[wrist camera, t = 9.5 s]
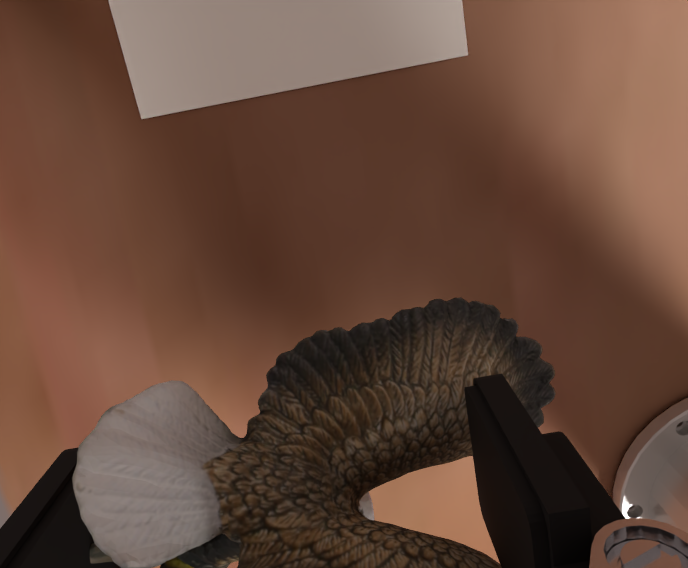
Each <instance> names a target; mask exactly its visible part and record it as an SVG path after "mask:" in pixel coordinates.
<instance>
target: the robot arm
mask: <svg viewBox="0 0 688 568" xmlns="http://www.w3.org/2000/svg"><path fill="white" fill-rule="evenodd" d="M464 392H465V400H466V408H467V415H468V422H469V430H470V437H471V444H472V452H473V459H474V466H475V474H476V481H477V488H478V496H479V502H480V507H481V511H482V515H483V519H484V521H485V524H486V527H487V530H488V532H489V535H490V538H491V540H492V543H493V546H494V548H495V551H496V554H497V556H498V559H499V562H500V564H501V567H502V568H688V398H686V399H684V400H682V401H680V402H678V403H677V404H675V405H673V406H671V407H670V408H668V409H667V410H666V411H664V412H663V413H662V414H660V415H659V416H658V417H656V418H655V419H654V420H652V421H651V422H650V423H649V425H648V426H647V427H646V428H645V429H644V430H643V431H642V432H641V433H640V434H639V435H638V436H637V437H636V439H635V440H634V442H633V443H632V444H631V446H630V447H629V449H628V450H627V452H626V453H625V455H624V457H623V460H622V462H621V464H620V466H619V469H618V471H617V475H616V479H615V483H614V488H613V500H612V499H611V497H610V496H609V495H608V493H607V492H606V490H605V489H604V488H603V486H602V485H601V484H600V482H599V481H598V479H597V478H596V477H595V475H594V474H593V473H592V471H591V470H590V468H589V467H588V466H587V464H586V463H585V462H584V460H583V459H582V457H581V456H580V455H579V453H578V452H577V451H576V449H575V448H574V446H573V445H572V444H571V442H570V441H569V440H568V438H567V437H566V436H565V435H564V434H563V433H562V432H553V433H547V434H541V432H540V431H539V429H538V427H537V426H536V424H535V423H534V421H533V420H532V418H531V417H530V415H529V414H528V412H527V411H526V409H525V408H524V406H523V405H522V403H521V402H520V400H519V398H518V397H517V395H516V394H515V392H514V391H513V389H512V388H511V386H510V385H509V383H508V382H507V380H506V379H505V377H504V376H503V374H495V375H489V376H484V377H478V378H474V379H473V386H469V387H465V388H464ZM77 451H78V448H73V449H68V450H64V451H63V452H62V453H61V454H60V455H59V457H58V458H57V459H56V460H55V461H54V463H53V464H52V465H51V466H50V468H49V469H48V470H47V471H46V473H45V474H44V475H43V476H42V478H41V479H40V480H39V481H38V483H37V484H36V485H35V486H34V488H33V489H32V490H31V491H30V493H29V494H28V495H27V496H26V497H25V499H24V500H23V501H22V502H21V504H20V505H19V506H18V507H17V509H16V510H15V511H14V512H13V514H12V515H11V516H10V517H9V519H8V520H7V521H6V522H5V524H4V525H3V526H2V527H1V529H0V568H121V567H120V566H118V565H117V564H116V563H114V562H103V563H94V564H92V563H91V562H90V545H91V544H92V543H94V540H93V538H92V535H91V533H90V532H89V530H88V528H87V527H86V525H85V524H84V522H83V520H82V519H81V515H80V510H79V506H78V503H77V500H76V497H75V493H74V489H73V481H72V477H73V474H74V471H75V468H76V465H77Z"/></svg>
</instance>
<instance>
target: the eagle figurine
mask: <svg viewBox="0 0 688 568" xmlns="http://www.w3.org/2000/svg"><path fill="white" fill-rule="evenodd" d="M517 330H518V324H517V322H516V321H515V320H514V319H501V318H500V311H499V310H498V309H497V308H496V307H495V306H493V305H486V304H484V303H481V302H477V301H472V302H470V303H468V302H467V301H466V300H464V299H463V298H453V299H451V300H449V301H447V302H446V301H444V300H442V299H434V300H431V301H430V302H429V304H428V305H427V306H426V307H425V308H421V307H415V308H412V309H406V310H401V311H399V312H397V313H396V314H395V315H394V316H393V317H392V319H391V320H386V319H384V318H381V319H377V320H375V321H374V322H371V323H361V324H358V325H357V326H355V327H354V328H352V330H350V331H346V330H344V329H343V328H341V327H338V328H334V329H333V330H330V331H326V330H320V331H317V332H316V333H315V334H314V335H313V336H311V337H308V338H305V339H303V340H302V341H300V342H299V343H298V344H297V345H296V347H295V348H294V349H293V350H291V351H288V352H285V353H282V354H281V355H279V356H278V357H277V359H276V365H275V366H274V367H272V368H271V369H270V370H269V371H268V373H267V375H266V376H267V382H268V388H267V389H266V390H265V391H264V392H263V393H262V395H261V396H260V398H259V400H258V405H259V409H260V414H258V415H257V416H255V417H253V418H251V419H250V420H249V421H248V426H247V434H246V436H245V437H244V438H239V437H237V436H236V435H234V434H233V433H232V432H231V431H230V429H229V428H228V427H227V426H226V424H225V423H224V422H222V421H221V420H220V419H219V417H218V416H217V415H216V414H215V413H214V412H213V411H212V409H210V407H209V406H208V405H207V404H206V403H205V402H204V400H203V399H202V398H201V397H200V396H199V394H198V393H197V392H196V391H194V390H193V389H192V388H191V387H190V386H189V385H188V384H186V383H184V382H183V381H172V380H171V381H169V382H165V383H159V384H157V385H154V386H151V387H149V388H148V389H146V390H144V391H143V392H141V393H140V394H137V395H136V396H134V397H133V398H131V399H129V400H126V401H125V402H123V403H121V404H117V405H115V406H113V407H111V408H110V409H108V410H107V411H106V412H105V413H104V414H103V415H102V416H101V418H100V420H99V421H98V423H97V426H96V427H95V429H94V430H93V431H92V432H91V433H90V434H89V435H88V436H87V437H86V438H85V439H84V440H83V442H82V443H81V444H80V445H79V448H78V451H77V465H76V468H75V471H74V474H73V477H72V481H73V489H74V493H75V497H76V500H77V503H78V506H79V510H80V515H81V519H82V520H83V522H84V524H85V525H86V527H87V528H88V530H89V532H90V533H91V535H92V538H93V540H94V543H92V544H91V545H90V562H91V563H92V564H94V563H103V562H114V563H116V564H117V565H118V566H120V567H121V568H152V567H155V566H159V565H161V566H160V568H227V567H228V565H229V564H230V563H232V562H236V561H239V565H238V567H237V568H502V567H501V565H500V564H499V563H498V562H496V561H495V560H493V559H492V558H491V557H489V556H488V555H486V554H484V553H482V552H480V551H477V550H475V549H472V548H470V547H468V546H466V545H464V544H461V543H458V542H455V541H452V540H449V539H445V538H441V537H437V536H433V535H429V534H425V533H421V532H417V531H413V530H409V529H406V528H402V527H399V526H396V525H393V524H388V523H383V522H379V521H374V511H373V504H372V500H371V497H370V494H369V491H370V490H372V489H373V488H375V487H377V486H380V485H382V484H384V483H386V482H389V481H391V480H394V479H396V478H399V477H401V476H403V475H405V474H407V473H409V472H413V471H416V470H419V469H423V468H427V467H431V466H435V465H440V464H445V463H449V462H452V461H455V460H458V459H461V458H464V457H468V456H473V452H472V444H471V437H470V430H469V422H468V415H467V408H466V400H465V392H464V388H465V387H469V386H473V379H474V378H478V377H484V376H489V375H495V374H503V376H504V377H505V379H506V380H507V382H508V383H509V385H510V386H511V388H512V389H513V391H514V392H515V394H516V395H517V397H518V398H519V400H520V402H521V403H522V405H523V406H524V408H525V409H526V411H527V412H528V414H529V415H530V417H531V418H532V420H533V421H534V423H535V424H536V426H537V427H540V426H541V425H542V424H543V422H544V416H543V413H542V410H541V408H542V407H543V406H545V405H547V404H549V403H550V402H551V401H552V400H553V399H554V397H555V390H554V388H553V387H552V386H551V385H550V384H549V383H550V381H551V380H552V379H553V377H554V376H555V370H554V368H553V366H552V365H551V364H549V363H547V362H545V361H543V360H542V359H540V355H541V353H542V346H541V345H540V344H539V343H538V342H537V341H536V340H533V339H530V338H527V337H516V333H517Z"/></svg>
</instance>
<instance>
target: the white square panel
mask: <svg viewBox="0 0 688 568" xmlns="http://www.w3.org/2000/svg"><path fill="white" fill-rule="evenodd" d="M108 1H109V5H110V9H111V12H112V16H113V19H114V23H115V26H116V30H117V34H118V37H119V41H120V44H121V48H122V52H123V55H124V59H125V62H126V66H127V69H128V73H129V77H130V80H131V84H132V87H133V91H134V95H135V98H136V102H137V105H138V109H139V112H140V116H141V119H146V118H151V117H156V116H161V115H166V114H171V113H176V112H181V111H186V110H191V109H197V108H202V107H207V106H212V105H217V104H222V103H227V102H232V101H237V100H242V99H248V98H253V97H258V96H263V95H268V94H273V93H278V92H283V91H288V90H293V89H299V88H304V87H309V86H314V85H319V84H324V83H329V82H334V81H339V80H345V79H350V78H355V77H360V76H365V75H370V74H375V73H380V72H385V71H390V70H396V69H401V68H406V67H411V66H416V65H421V64H426V63H431V62H436V61H441V60H447V59H452V58H457V57H462V56H467V55H468V48H467V40H466V31H465V22H464V13H463V4H462V0H108Z"/></svg>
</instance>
